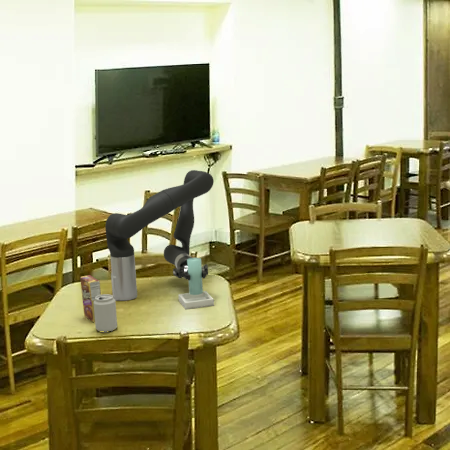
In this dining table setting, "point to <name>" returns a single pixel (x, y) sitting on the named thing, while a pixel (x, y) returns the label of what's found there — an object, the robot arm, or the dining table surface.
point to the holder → (196, 300)
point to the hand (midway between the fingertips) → (196, 276)
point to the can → (105, 313)
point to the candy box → (89, 295)
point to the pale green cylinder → (195, 276)
